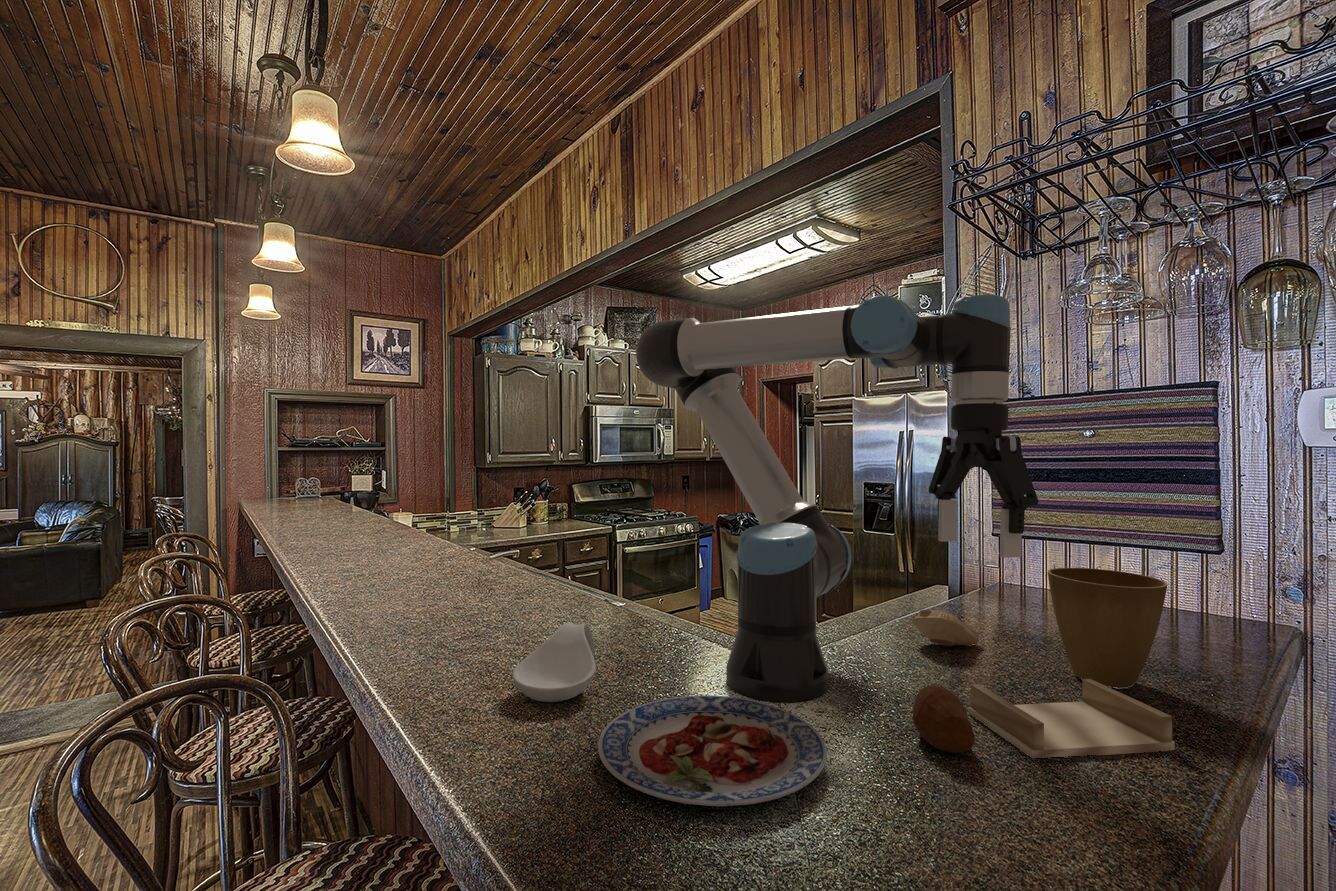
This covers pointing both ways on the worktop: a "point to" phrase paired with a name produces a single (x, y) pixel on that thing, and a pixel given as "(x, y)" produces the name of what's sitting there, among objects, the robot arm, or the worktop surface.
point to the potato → (942, 720)
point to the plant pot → (1106, 621)
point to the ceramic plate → (712, 750)
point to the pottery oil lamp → (944, 628)
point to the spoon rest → (558, 665)
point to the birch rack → (1076, 723)
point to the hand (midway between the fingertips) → (976, 548)
